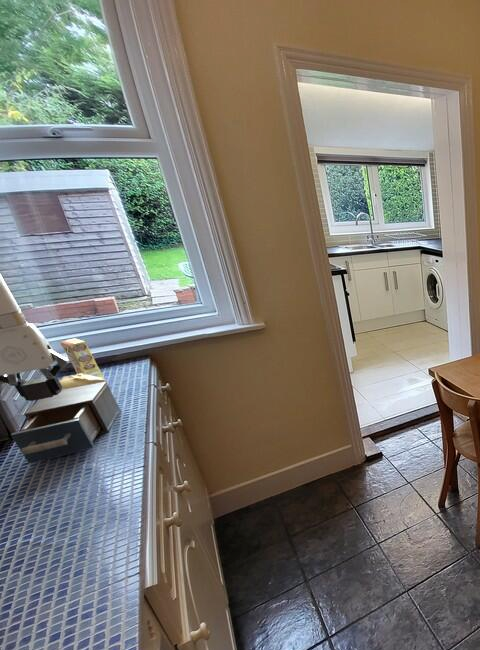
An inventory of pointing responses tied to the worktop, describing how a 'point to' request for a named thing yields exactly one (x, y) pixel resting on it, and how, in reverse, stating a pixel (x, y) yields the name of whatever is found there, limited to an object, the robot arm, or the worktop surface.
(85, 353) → the candy box
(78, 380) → the sculpture
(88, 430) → the drawer
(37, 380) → the block
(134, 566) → the worktop surface
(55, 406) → the cabinet
